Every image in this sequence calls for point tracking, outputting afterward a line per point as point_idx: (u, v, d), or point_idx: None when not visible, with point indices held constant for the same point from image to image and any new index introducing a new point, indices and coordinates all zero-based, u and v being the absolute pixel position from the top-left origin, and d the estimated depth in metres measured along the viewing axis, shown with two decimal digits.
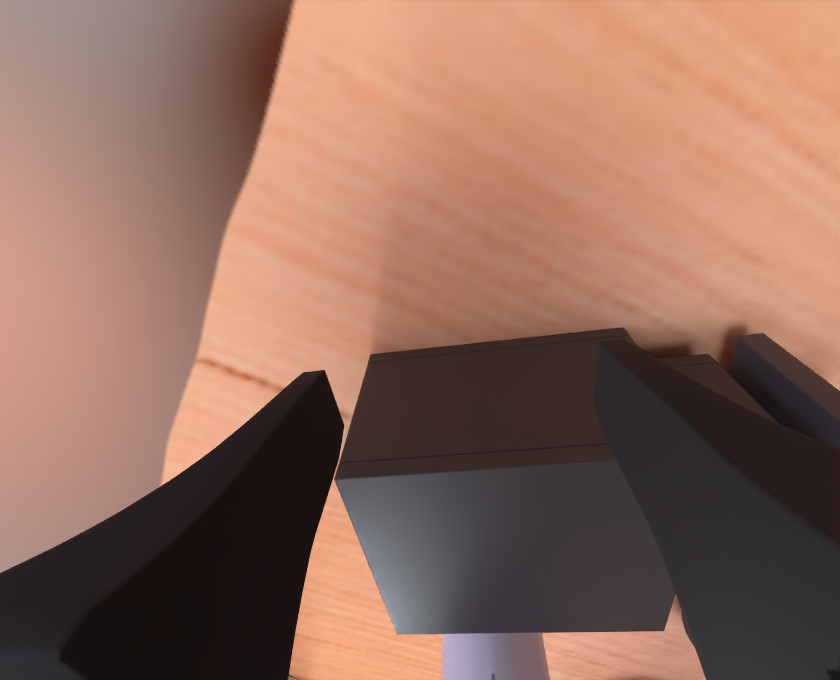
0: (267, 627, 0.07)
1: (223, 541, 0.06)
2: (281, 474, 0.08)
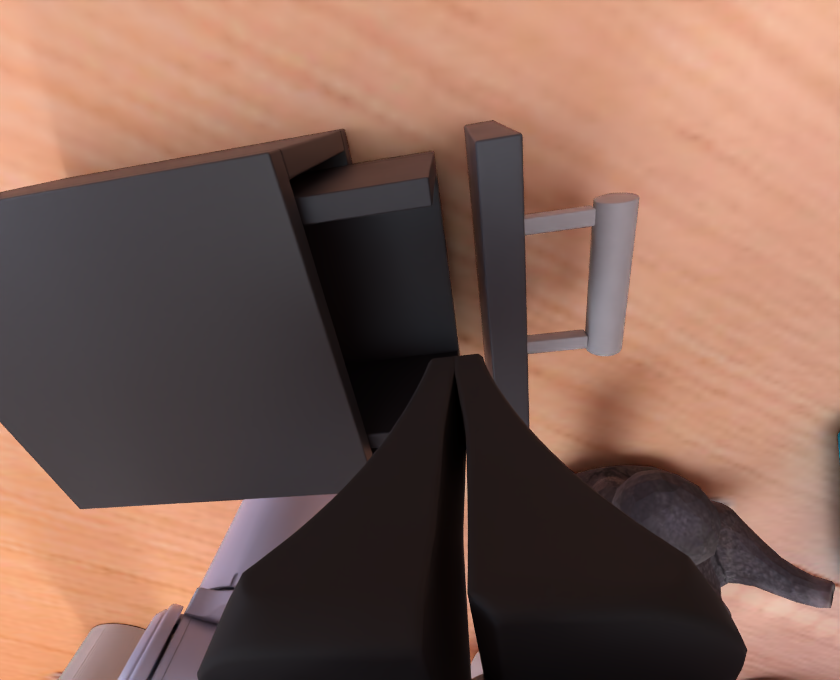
0: (462, 623, 0.07)
1: (445, 530, 0.06)
2: (450, 462, 0.08)
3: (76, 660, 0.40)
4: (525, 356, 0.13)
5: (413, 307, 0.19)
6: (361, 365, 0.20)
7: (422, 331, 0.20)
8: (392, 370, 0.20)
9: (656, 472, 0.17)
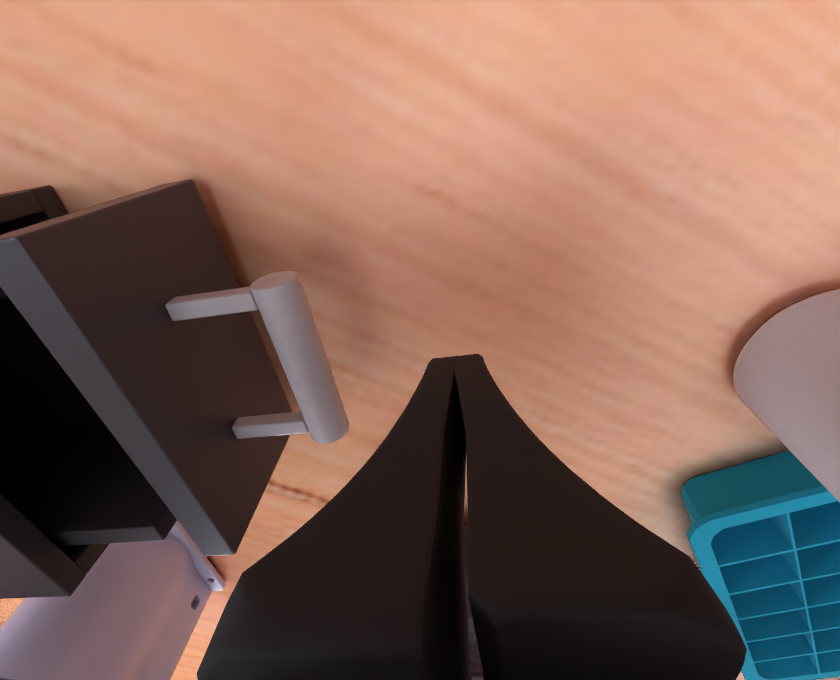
0: (462, 623, 0.07)
1: (445, 530, 0.06)
2: (450, 462, 0.08)
3: None
4: (169, 463, 0.12)
5: None
6: None
7: None
8: None
9: None
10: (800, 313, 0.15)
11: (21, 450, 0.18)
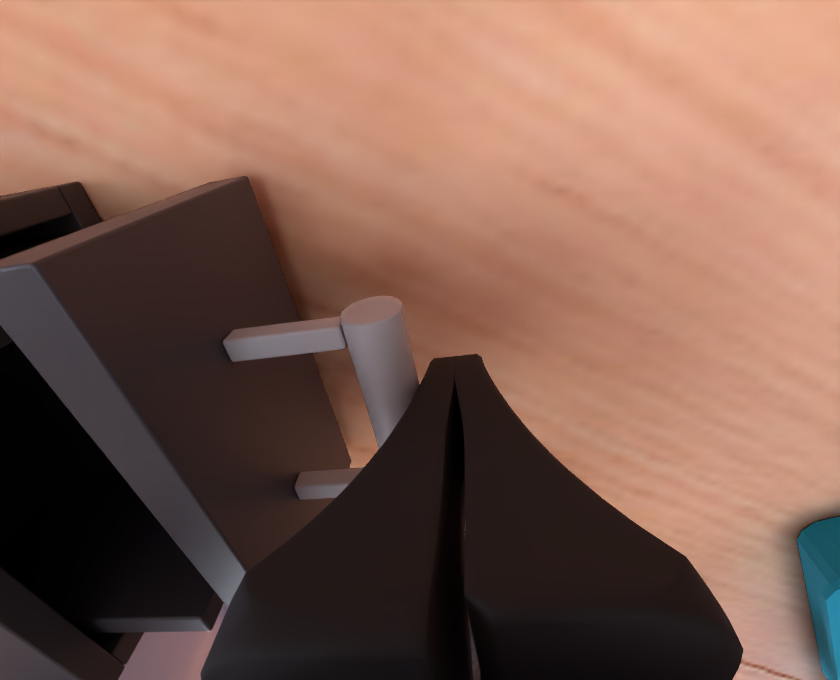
0: (464, 623, 0.07)
1: (447, 530, 0.06)
2: (452, 462, 0.08)
3: None
4: (231, 554, 0.09)
5: None
6: None
7: None
8: None
9: None
10: None
11: (30, 499, 0.15)
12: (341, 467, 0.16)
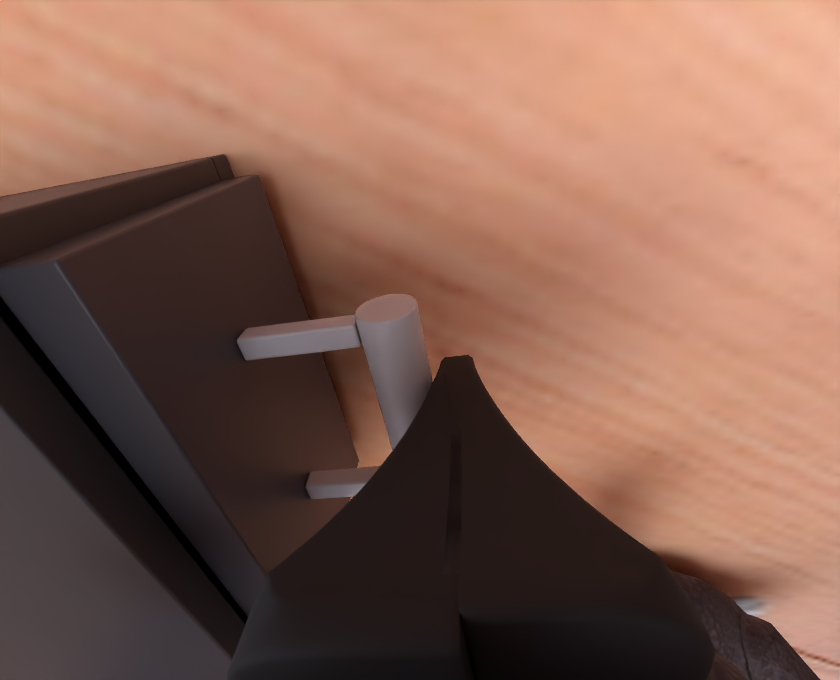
0: None
1: None
2: None
3: None
4: (245, 554, 0.09)
5: None
6: None
7: None
8: None
9: None
10: None
11: None
12: (349, 467, 0.16)
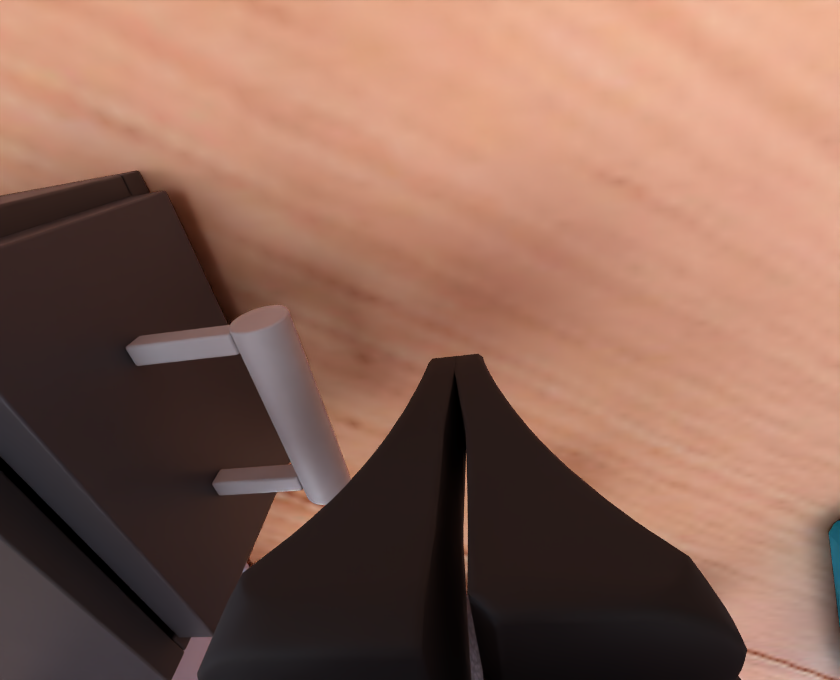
0: (462, 623, 0.07)
1: (445, 530, 0.06)
2: (450, 462, 0.08)
3: None
4: (129, 545, 0.09)
5: None
6: None
7: None
8: None
9: None
10: None
11: None
12: None
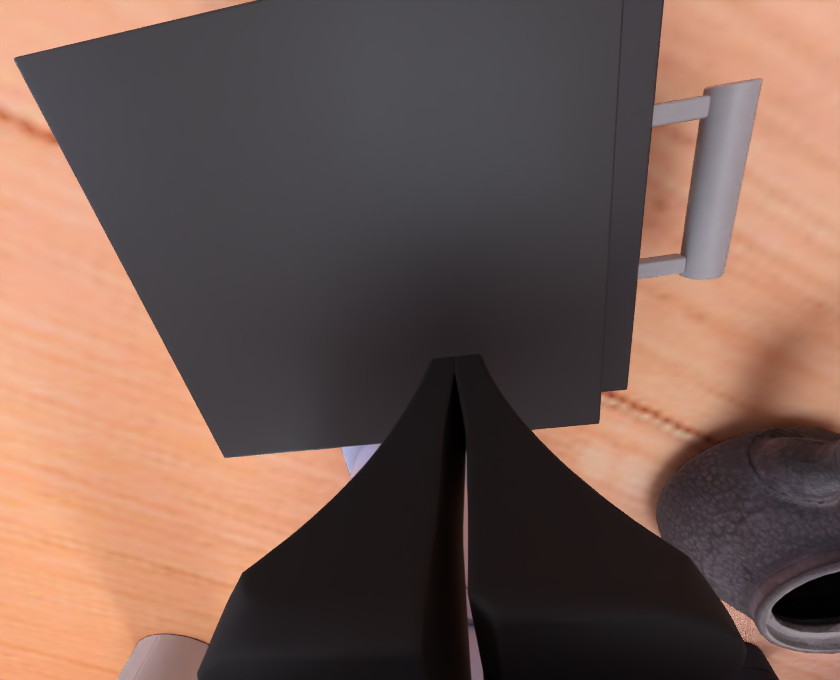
0: (462, 623, 0.07)
1: (445, 530, 0.06)
2: (450, 462, 0.08)
3: (125, 675, 0.36)
4: (636, 260, 0.12)
5: None
6: None
7: None
8: None
9: None
10: None
11: None
12: None
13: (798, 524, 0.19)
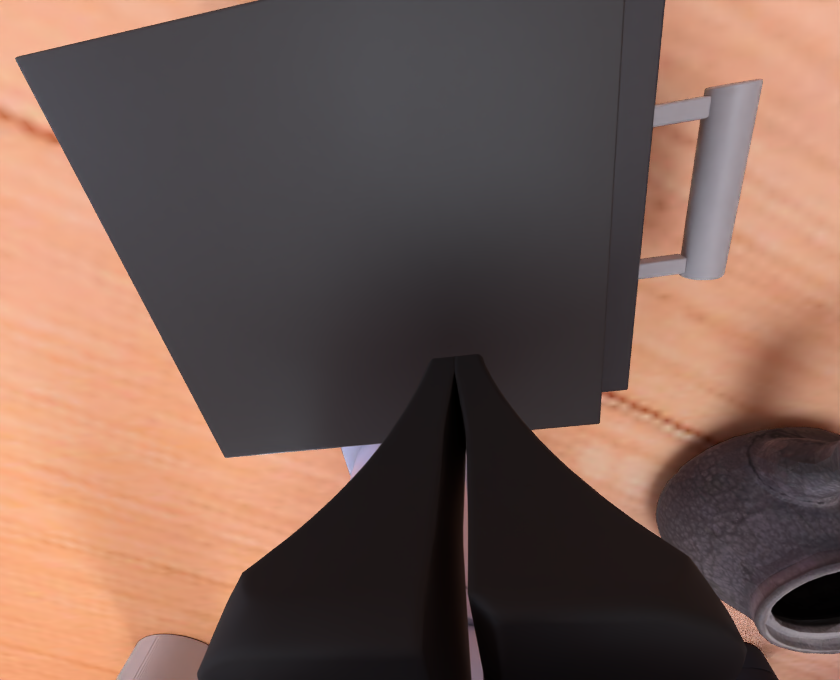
0: (462, 623, 0.07)
1: (444, 530, 0.06)
2: (450, 462, 0.08)
3: (125, 675, 0.36)
4: (637, 260, 0.12)
5: None
6: None
7: None
8: None
9: None
10: None
11: None
12: None
13: (798, 524, 0.19)
